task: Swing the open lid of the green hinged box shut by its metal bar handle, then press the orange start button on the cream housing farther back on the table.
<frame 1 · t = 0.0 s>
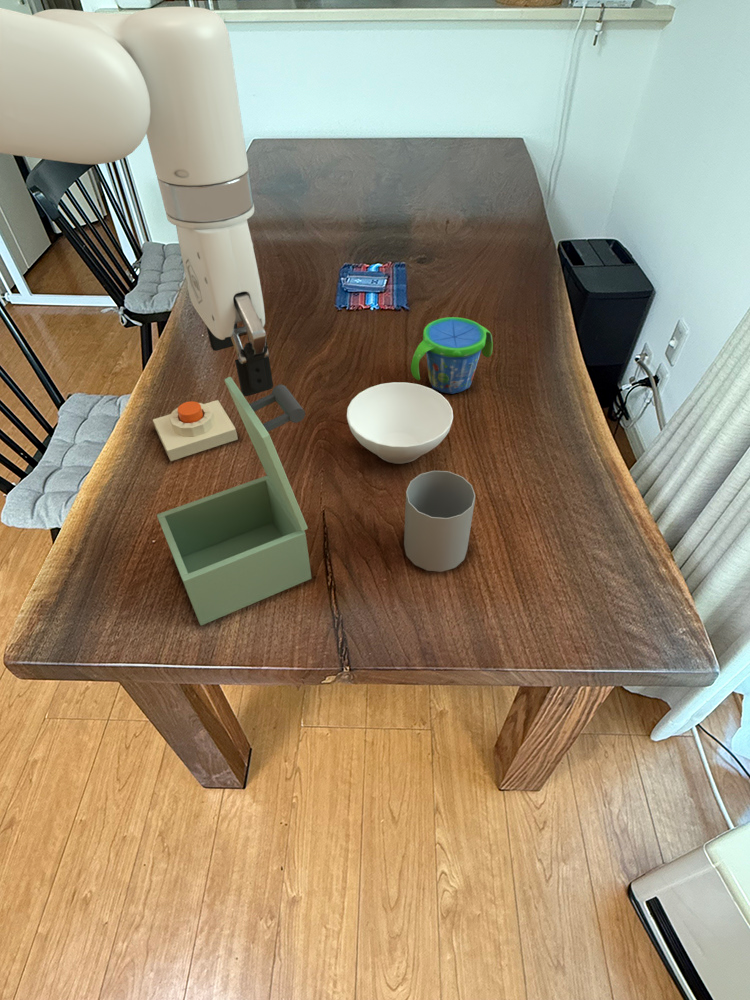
hand: (241, 368, 63), 26 cm above the table, tool pointing down, fingers open, 9 cm apart
start button: (190, 412, 94), point 4 cm above the table, slide at 0.1 cm
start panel: (196, 434, 97), on the table
snack cup: (449, 384, 107), on the table
cup: (435, 547, 80), on the table
bowl: (398, 449, 94), on the table
green hinged box: (242, 569, 77), on the table
lid: (286, 447, 68), point 17 cm above the table, hinge at 80.0°
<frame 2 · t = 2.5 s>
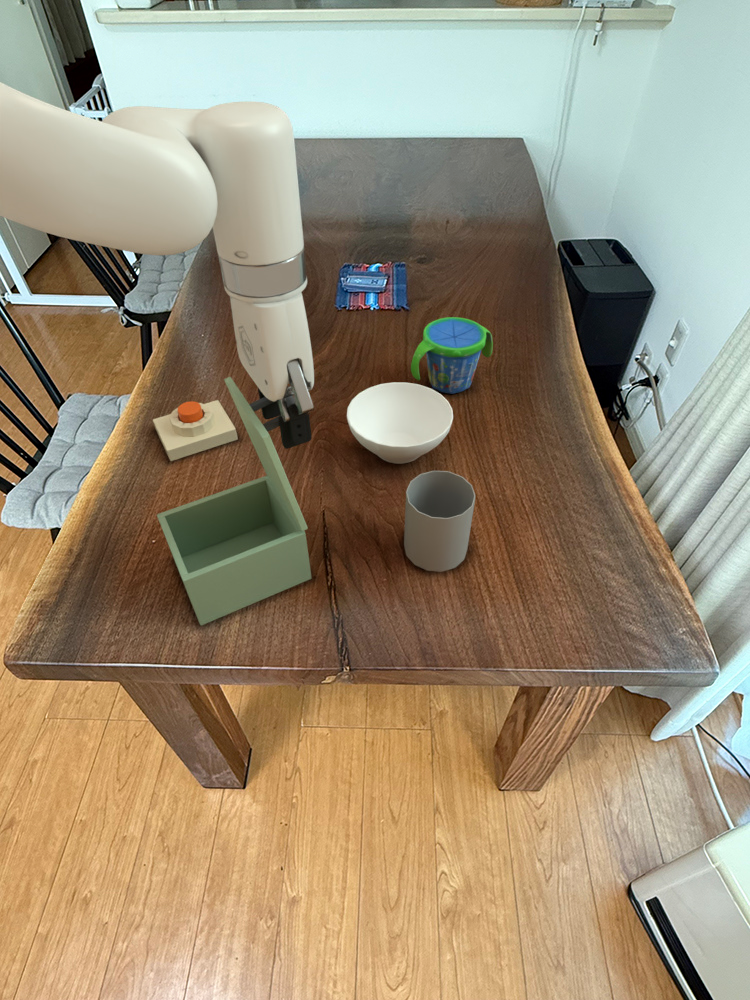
hand: (286, 427, 66), 20 cm above the table, tool pointing down, fingers closed on lid, 5 cm apart
lid: (286, 447, 68), point 17 cm above the table, hinge at 80.0°, touching gripper
everything else where it was.
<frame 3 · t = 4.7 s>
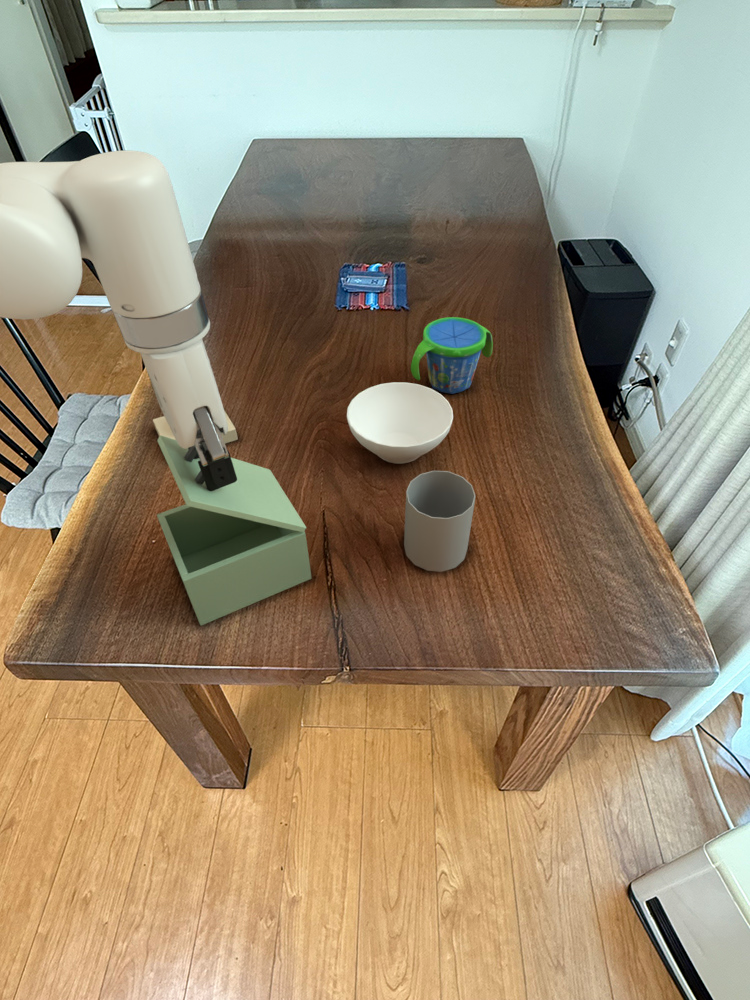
hand: (213, 467, 65), 18 cm above the table, tool pointing down, fingers closed on lid, 5 cm apart
lid: (244, 469, 67), point 16 cm above the table, hinge at 41.6°, touching gripper
everything else where it was.
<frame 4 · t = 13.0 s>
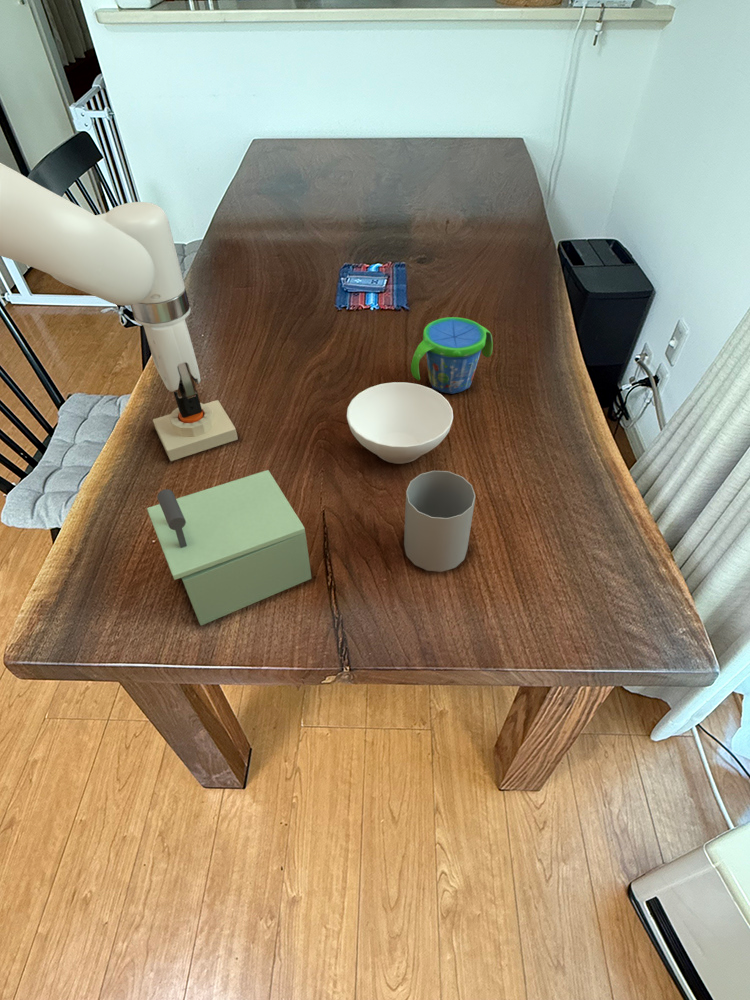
hand: (191, 412, 94), 4 cm above the table, tool pointing down, fingers closed
start button: (191, 417, 95), point 3 cm above the table, slide at -0.9 cm, touching gripper
lid: (222, 505, 69), point 12 cm above the table, hinge at 2.4°
everything else where it was.
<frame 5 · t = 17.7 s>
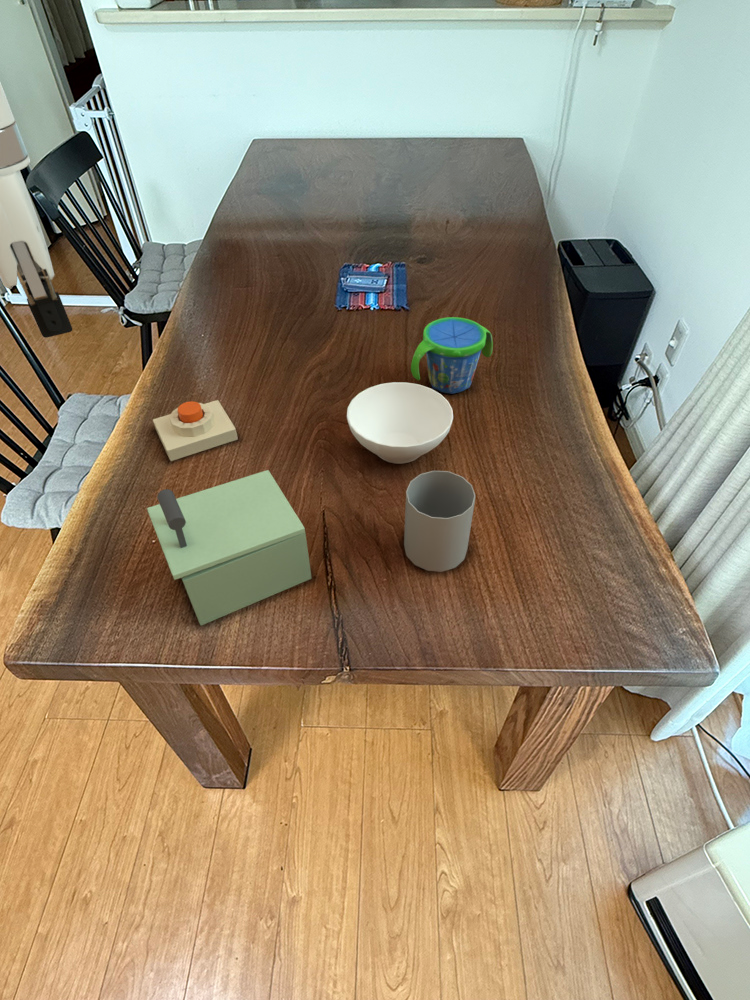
hand: (57, 331, 67), 27 cm above the table, tool pointing down, fingers closed
start button: (190, 412, 94), point 4 cm above the table, slide at 0.1 cm
everything else where it was.
at the end: lid at +2° (first picture: +80°); start button pushed in 1.1 cm at the most during the clip, back to where it started at the end; start button slide at 0.1 cm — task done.
